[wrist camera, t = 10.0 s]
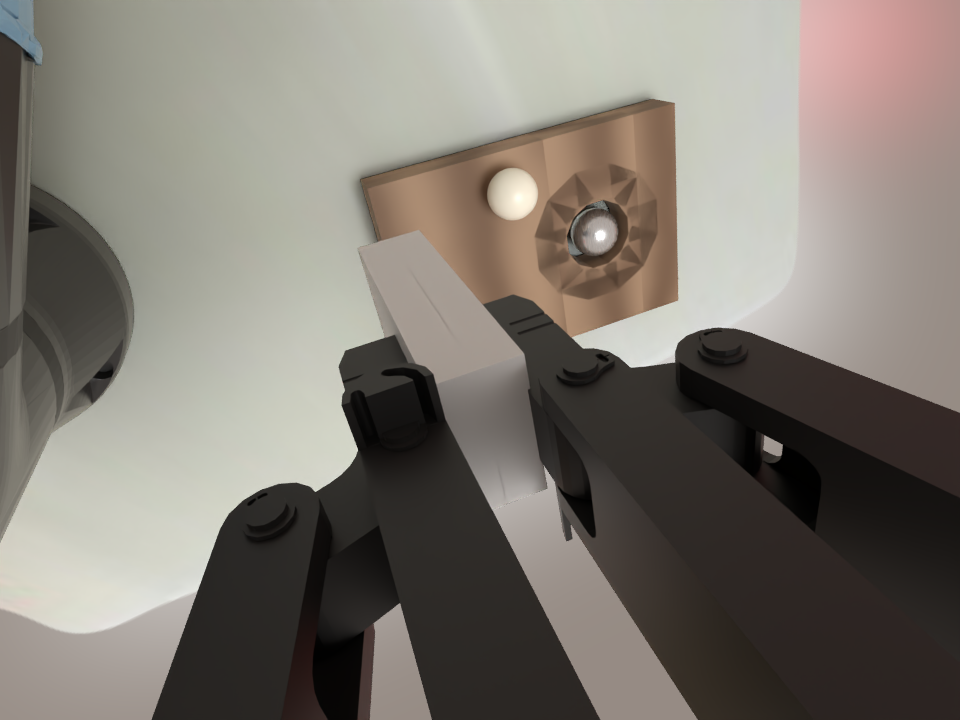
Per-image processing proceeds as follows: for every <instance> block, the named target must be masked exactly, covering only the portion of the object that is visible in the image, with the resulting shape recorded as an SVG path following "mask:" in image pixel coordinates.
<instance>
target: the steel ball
mask: <svg viewBox="0 0 960 720" xmlns="http://www.w3.org/2000/svg"><path fill="white" fill-rule="evenodd" d="M617 238H618V224H617V222H616V220H615V218H614V217H613V215H612V214H610V213H609V212H608V211H606V210H604V209H600V208H591V209H587V210H585V211H583V212H581V213H580V214H579V215H578V216H577V217H576V218H575V220H574V222H573V224H572V227H571V239H572V242H573V244H574V245H575V247H576V248H577V249H578V250H579V251H580V252H582V253H584V254H586V255H590V256H598V255H602V254H604V253H606V252H608V251H609V250H610V249H611V248H612V247H613V246H614V244H615V243H616V241H617Z"/></svg>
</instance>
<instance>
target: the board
mask: <svg viewBox="0 0 960 720" xmlns="http://www.w3.org/2000/svg"><path fill="white" fill-rule="evenodd" d="M507 168H519V169H522V170H524V171H526V172H527V173H529V174H530V175H531V176H532V178H533V179H534V180H535V182H536V185H537V189H538V199H537V202H536V205H535V207H534V209H533V210H532V211H531V212H530V213H529V214H528V215H527V216H526V217H524V218H522V219H519V220H506V219H503V218H501V217H499V216H498V215H496V214H495V213H494V212H493V211H492V209H491V207H490V206H489V203H488V199H487V190H488V186H489V183H490V181H491V180H492V178H493V177H494V176H495V175H496V174H497V173H498V172H500V171H502V170H504V169H507ZM361 183H362V187H363V190H364V193H365V197H366V200H367V204H368V207H369V211H370V214H371V218H372V221H373V225H374V228H375V232H376V235H377V238H378V242H379V241H383V240H386V239H389V238H393V237H396V236H400V235H403V234H406V233H410V232H413V231H417V230H420V232H421V233H422V234H423V235H424V236H425V238H426V239H427V240H428V241H429V242H430V243H431V245H432V246H433V247H434V248H435V249H436V250H437V252H438V253H439V254H440V255H441V256H442V258H443V259H444V260H445V261H446V262H447V263H448V265H449V266H450V267H451V268H452V269H453V270H454V272H455V273H456V274H457V275H458V276H459V278H460V279H461V280H462V281H463V282H464V283H465V285H466V286H467V287H468V288H469V289H470V290H471V292H472V293H473V294H474V295H475V296H476V298H477V299H478V300H479V301H480V302H481V303H482V304H485V303H488V302H491V301H494V300H498V299H501V298H504V297H507V296H510V295H513V294H514V295H517V296H520V297H523V298H526V299H529V300H532V301H534V302H535V303H536V304H537V305H538V306H539V307H540V308H541V309H542V310H543V311H544V313H545V314H547V315H548V316H549V317H550V318H551V319H552V320H553V321H554V323H557V324H558V325H559V326H560V327H561V328H562V329H563V330H564V331H565V332H566V333H567V334H568V335H569V336H570V337H573V336H576V335H579V334H582V333H585V332H588V331H591V330H594V329H597V328H599V327H602V326H605V325H608V324H611V323H614V322H617V321H620V320H623V319H626V318H628V317H631V316H634V315H637V314H640V313H643V312H646V311H649V310H652V309H654V308H657V307H660V306H663V305H666V304H669V303H672V302H675V301H678V262H677V207H676V152H675V103H671V102H666V101H660V100H655V99H651V100H648V101H644V102H640V103H637V104H633V105H629V106H626V107H622V108H618V109H615V110H611V111H608V112H604V113H600V114H597V115H593V116H589V117H586V118H582V119H579V120H575V121H571V122H568V123H564V124H560V125H557V126H553V127H549V128H546V129H542V130H539V131H535V132H531V133H528V134H524V135H520V136H517V137H513V138H509V139H506V140H502V141H499V142H495V143H491V144H488V145H484V146H480V147H477V148H473V149H470V150H466V151H462V152H459V153H455V154H451V155H448V156H444V157H440V158H437V159H433V160H430V161H426V162H422V163H419V164H415V165H411V166H408V167H404V168H400V169H397V170H393V171H390V172H386V173H382V174H379V175H375V176H371V177H368V178H364V179H361ZM601 200H604V201H605V203H606V204H607V205H608V207H609V211H610V214H612V215H613V217H614V218H615V220H616V222H617V224H618V238H617V241H616V243H615V244H614V246H613V247H612V248H611V249H610V250H609V251H608V252H606V253H604V254H602V255H598V256H590V255H586V254H584V255H581V256H577V257H576V256H572V255H570V254H569V250H568V242H567V234H568V231H569V229H570V226H571V223H572V221H573V218H574V217H575V216H576V215H577V214H578V213H579V212H580V211H581V210H582V209H583V208H584V207H585V206H586V205H588V204H592V203H595V202H598V201H601Z"/></svg>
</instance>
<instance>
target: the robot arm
mask: <svg viewBox="0 0 960 720" xmlns="http://www.w3.org/2000/svg"><path fill="white" fill-rule="evenodd" d="M42 57H43V51H42V47H41V44H40V43H39V41H38V40H37V39H36V37H35V36H34V11H33V0H0V542H1V540H2V537H3V535H4V533H5V531H6V529H7V527H8V525H9V523H10V520H11V518H12V516H13V514H14V512H15V510H16V508H17V505H18V503H19V501H20V499H21V497H22V495H23V493H24V490H25V488H26V486H27V484H28V482H29V480H30V478H31V475H32V473H33V471H34V469H35V467H36V465H37V463H38V460H39V458H40V456H41V454H42V452H43V450H44V448H45V446H46V443H47V441H48V439H49V437H50V435H51V433H53V432H54V431H56V430H57V429H59V428H60V427H62V426H63V425H65V424H66V423H68V422H69V421H71V420H72V419H74V418H75V417H77V416H78V415H79V414H81V413H82V412H84V411H85V410H87V409H88V408H89V407H90V406H91V405H93V404H94V403H95V402H96V401H97V400H98V399H99V398H100V397H101V396H102V395H103V394H104V392H105V391H106V390H107V389H108V388H109V386H110V385H111V383H112V382H113V381H114V379H115V377H116V376H117V374H118V372H119V370H120V368H121V366H122V363H123V361H124V358H125V355H126V353H127V350H128V347H129V344H130V341H131V337H132V332H133V324H134V309H133V300H132V296H131V291H130V288H129V284H128V281H127V279H126V276H125V274H124V272H123V270H122V268H121V265H120V264H119V262H118V260H117V258H116V257H115V255H114V254H113V252H112V251H111V249H110V248H109V246H108V245H107V244H106V243H105V241H104V240H103V239H102V238H101V236H100V235H99V234H98V233H97V232H96V231H95V230H94V229H93V228H92V227H91V226H90V225H89V224H88V223H87V222H86V221H85V220H84V219H83V218H81V217H80V216H79V215H78V214H77V213H75V212H74V211H73V210H71V209H70V208H69V207H67V206H66V205H65V204H63V203H62V202H60V201H59V200H57V199H56V198H54V197H52V196H51V195H49V194H47V193H45V192H44V191H42V190H40V189H38V188H36V187H34V186H32V185H30V175H31V150H32V124H33V98H34V73H35V65H40V66H41V65H42ZM358 251H359V255H360V258H361V261H362V264H363V268H364V271H365V274H366V277H367V281H368V284H369V287H370V290H371V294H372V297H373V300H374V303H375V307H376V310H377V313H378V316H379V320H380V323H381V326H382V329H383V333H384V336H385V338H383V339H380V340H377V341H374V342H371V343H368V344H365V345H362V346H359V347H355V348H352V349H349V350H346V351H345V353H344V355H343V358H342V360H341V362H340V364H339V370H340V374H341V377H342V381H343V385H344V388H345V392H344V393H343V396H342V408H343V410H344V413H345V416H346V418H347V421H348V424H349V426H350V429H351V432H352V434H353V437H354V440H355V442H356V445H357V448H358V452H357V455H356V457H355V459H354V461H353V462H352V464H351V465H350V466H349V467H348V468H347V470H346V471H345V472H344V473H343V474H342V475H340V476H339V477H338V478H336V479H335V480H334V481H332V482H331V483H330V484H328V485H326V486H325V487H323V488H321V489H320V490H318V491H317V492H314V490H313V489H312V488H311V487H309V486H306V485H302V484H299V483H285V484H277V485H274V486H271V487H268V488H265V489H262V490H260V491H258V492H257V493H255V494H253V495H252V496H250V497H248V498H247V499H245V500H243V501H242V502H241V503H240V504H239V505H238V506H237V507H236V508H235V509H234V510H233V511H232V512H231V513H229V515H228V516H227V518H226V520H225V522H224V523H223V525H222V527H221V528H220V531H219V534H218V536H217V539H216V542H215V545H214V548H213V550H212V553H211V556H210V559H209V561H208V564H207V567H206V570H205V573H204V575H203V578H202V581H201V584H200V586H199V589H198V592H197V595H196V598H195V600H194V603H193V606H192V609H191V612H190V614H189V617H188V620H187V623H186V625H185V628H184V631H183V634H182V637H181V639H180V642H179V645H178V648H177V650H176V653H175V656H174V659H173V662H172V664H171V667H170V670H169V673H168V676H167V678H166V681H165V684H164V687H163V689H162V693H161V695H160V698H159V701H158V704H157V706H156V709H155V712H154V714H153V717H152V720H370V704H371V689H372V673H373V656H374V640H375V630H374V624H373V623H374V622H376V621H377V620H378V619H379V618H381V617H382V616H383V615H385V614H386V613H387V612H389V611H390V610H391V609H393V608H394V607H395V606H396V605H398V604H399V603H400V604H401V608H402V611H403V615H404V618H405V622H406V626H407V630H408V633H409V637H410V641H411V644H412V648H413V651H414V655H415V659H416V663H417V666H418V670H419V674H420V677H421V681H422V684H423V688H424V692H425V695H426V699H427V703H428V706H429V710H430V714H431V717H432V720H600V719H599V717H598V715H597V713H596V711H595V709H594V707H593V705H592V703H591V701H590V699H589V697H588V695H587V693H586V692H585V690H584V687H583V686H582V684H581V682H580V680H579V678H578V676H577V674H576V672H575V670H574V668H573V666H572V664H571V662H570V660H569V658H568V656H567V654H566V652H565V651H564V649H563V647H562V645H561V643H560V641H559V639H558V637H557V635H556V633H555V631H554V629H553V627H552V625H551V623H550V622H549V619H548V618H547V616H546V614H545V612H544V610H543V608H542V606H541V604H540V602H539V600H538V598H537V596H536V594H535V592H534V590H533V588H532V586H531V585H530V583H529V581H528V579H527V577H526V575H525V573H524V571H523V569H522V567H521V565H520V563H519V561H518V559H517V557H516V555H515V553H514V551H513V549H512V548H511V546H510V544H509V542H508V540H507V538H506V536H505V534H504V532H503V530H502V528H501V526H500V524H499V522H498V520H497V518H496V516H495V515H494V513H493V511H492V510H494V509H496V508H499V507H501V506H504V505H506V504H509V503H511V502H514V501H517V500H519V499H522V498H524V497H527V496H529V495H532V494H535V493H537V492H540V491H542V490H545V489H547V483H546V477H545V471H544V466H545V468H546V469H547V470H548V472H549V474H550V475H551V477H552V478H553V479H554V481H555V485H556V491H557V496H558V502H559V509H560V516H561V522H562V528H563V532H564V536H565V539H566V541H569V540H571V539H572V533H571V525H572V526H573V528H574V530H575V531H576V533H577V534H578V536H579V537H580V539H581V540H582V542H583V543H584V545H585V546H586V548H587V550H588V551H589V553H590V554H591V556H592V557H593V559H594V560H595V562H596V563H597V565H598V567H599V568H600V570H601V571H602V572H603V574H604V576H605V577H606V579H607V580H608V582H609V583H610V585H611V587H612V588H613V590H614V591H615V593H616V594H617V596H618V597H619V599H620V600H621V602H622V604H623V605H624V607H625V608H626V610H627V611H628V613H629V614H630V616H631V617H632V619H633V620H634V622H635V623H636V625H637V627H638V628H639V630H640V631H641V633H642V634H643V636H644V637H645V639H646V641H647V642H648V643H649V645H650V647H651V648H652V650H653V651H654V653H655V654H656V656H657V657H658V659H659V660H660V662H661V664H662V665H663V666H664V668H665V670H666V671H667V673H668V674H669V676H670V678H671V679H672V681H673V682H674V683H675V685H676V687H677V688H678V690H679V691H680V693H681V694H682V696H683V697H684V699H685V701H686V702H687V704H688V705H689V707H690V708H691V710H692V711H693V713H694V714H695V716H696V718H697V719H698V720H960V413H958V412H956V411H953V410H951V409H948V408H945V407H943V406H940V405H938V404H935V403H932V402H930V401H927V400H925V399H922V398H920V397H917V396H914V395H912V394H909V393H907V392H904V391H901V390H899V389H896V388H894V387H891V386H888V385H886V384H883V383H880V382H878V381H875V380H873V379H870V378H867V377H865V376H862V375H860V374H857V373H854V372H852V371H849V370H847V369H844V368H841V367H839V366H836V365H834V364H831V363H828V362H826V361H823V360H820V359H818V358H815V357H813V356H810V355H808V354H805V353H802V352H800V351H797V350H794V349H792V348H789V347H787V346H784V345H781V344H779V343H776V342H774V341H771V340H768V339H766V338H763V337H760V336H758V335H755V334H753V333H750V332H745V331H742V330H738V329H729V328H711V329H706V330H700V331H698V332H695V333H693V334H690V335H687V336H686V337H685V338H684V339H682V340H681V341H680V342H679V343H678V345H677V348H676V351H675V363H668V364H661V365H654V366H647V367H635V368H630V367H629V366H628V365H627V364H626V363H625V362H623V361H622V360H621V359H620V358H619V357H617V356H615V355H614V354H612V353H610V352H608V351H603V350H599V349H594V348H592V349H583V348H582V347H581V346H579V345H578V344H577V343H576V342H575V341H574V340H573V339H572V338H571V337H570V336H569V335H568V334H567V333H566V332H565V331H564V330H563V329H562V328H561V327H560V326H559V325H558V324H557V323H554V321H553V320H552V319H551V318H550V317H549V316H548V315H547V314H545V313H544V311H543V310H542V309H541V308H540V307H539V306H538V305H537V304H536V303H535V302H534V301H532V300H529V299H526V298H523V297H520V296H517V295H514V294H513V295H510V296H507V297H504V298H501V299H498V300H494V301H491V302H488V303H485V304H482V303H481V302H480V301H479V300H478V299H477V298H476V296H475V295H474V294H473V293H472V292H471V290H470V289H469V288H468V287H467V286H466V285H465V283H464V282H463V281H462V280H461V279H460V278H459V276H458V275H457V274H456V273H455V272H454V270H453V269H452V268H451V267H450V266H449V265H448V263H447V262H446V261H445V260H444V259H443V258H442V256H441V255H440V254H439V253H438V252H437V250H436V249H435V248H434V247H433V246H432V245H431V243H430V242H429V241H428V240H427V239H426V238H425V236H424V235H423V234H422V233H421V232H420V230H417V231H413V232H410V233H406V234H403V235H400V236H396V237H393V238H389V239H386V240H383V241H379V242H376V243H372V244H369V245H366V246H362V247H359V248H358ZM764 435H765V436H767V437H769V438H771V439H773V440H775V441H777V442H779V443H781V444H783V449H782V455H781V456H775V455H772V454H770V453H768V452H766V451H764V450H763V446H764Z"/></svg>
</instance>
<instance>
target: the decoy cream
mask: <svg viewBox="0 0 960 720" xmlns="http://www.w3.org/2000/svg"><path fill="white" fill-rule="evenodd" d="M487 199H488V203H489V206H490V207H491V209H492V211H493V212H494V213H495V214H496V215H498V216H499V217H501V218H503V219H506V220H519V219H522V218H524V217H526V216H527V215H528V214H529V213H530V212H531V211H532V210H533V209H534V207H535V205H536V202H537V199H538V189H537V185H536V182H535V180H534V179H533V178H532V176H531V175H530V174H529V173H527V172H526V171H524V170H522V169H519V168H507V169H504V170H502V171H500V172H498V173H497V174H496V175H495V176H494V177H493V178H492V180H491V181H490V183H489V186H488V190H487Z"/></svg>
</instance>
